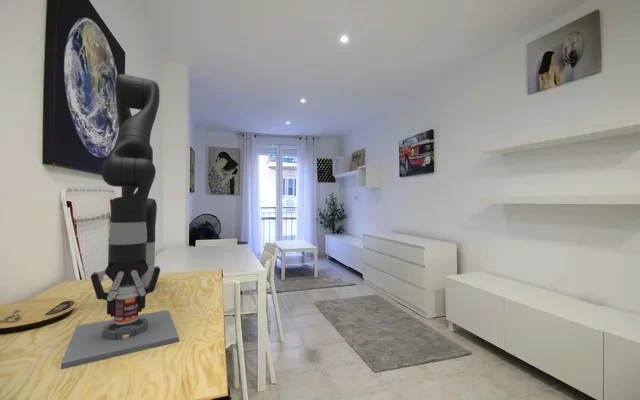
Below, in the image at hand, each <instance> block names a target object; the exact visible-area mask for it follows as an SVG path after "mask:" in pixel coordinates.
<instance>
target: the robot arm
mask: <svg viewBox="0 0 640 400" xmlns="http://www.w3.org/2000/svg"><path fill="white" fill-rule="evenodd" d="M114 94H115V102H116V113H117V120H118V134H117V141H116V144H115V146H114V147H113V149H112V150H111V152H110V153H109V155H107V157H106V159H105V160H104V162H103V164H102V167H101V177H102V179H103V181H104V182H105V183H106V184H107V185H108V186H111V187H119V188H121V196H119V197H115V198H113V199H112V200H111V203H110V225H109V230H108V239H107V241H108V253H107V254H108V256H107V257H108V258H107V266H106V268H105V269H103V270H100V271H94V272H92V273H91V276H90V280H91V283H92V287H93V290H94V293H95V295H96V298H97V300H104V301H106V314H107V315H109V316H110V317H111V318H112V317H113V318H114V307H115V296H116V294H117V289H118V287H119V286H121V285H125V284H136V287H137V291H136V292H138V293H139V303H138V313H141V312H142V311H143V310H144V309H145V307H146V297H147V295H148V294H150V293H153V292H155V288H156V286H157V282H158V278H159V276H160V272H161V268H160V266H159V265H155V263H156V262H155V261H156V257H155V256H156V223H157V222H156V221H157V211H158V210H157V209H158V205H157V201H156V199H154V198H149V195H150V191H151V188H152V186H153V183H154V181H155V178H156V172H157V171H156V166H155V165H154V162H153V161H154V159H153V157H154V152H153V148H152V145H151V134H152V130H153V126H154V123H155V121H156V118H157V113H158V110H159V105H160V98H161V97H160V96H161V95H160V86H159V85H158V83H157V82H156V81H155V80H152V79H149V78H145V77H139V76H135V75H129V74H124V73H120V74H117V75H116V77H115V81H114ZM131 109H133V110H139V111H138V112H137V113H135V114H134V115H133V114H132V111H131ZM105 276H107V277H108V279H110V280H111V281H112V284H111V286H110V289H109V291H108V292H106V291H105V290H104V287H103V284H102V281H103V280H104V278H105Z"/></svg>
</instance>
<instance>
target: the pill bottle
mask: <svg viewBox="0 0 640 400" xmlns="http://www.w3.org/2000/svg"><path fill="white" fill-rule="evenodd" d="M136 291H137V287H136V284H125V285H121V286H119V287H118V289H117V291H116V294H115V296H114V298H115V307H114V316H113V319H114V323H115V324H118V325H123V324H129V323H132V322H134V321H136V320H137V319H138V315H139V312H138V303H139V292H136Z"/></svg>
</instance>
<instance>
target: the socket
mask: <svg viewBox="0 0 640 400" xmlns="http://www.w3.org/2000/svg"><path fill="white" fill-rule="evenodd" d="M177 342H178V343H179V342H180V336H179V333H178V331H177V328H176V326H175V323H174V320H173V317H172V315H171V313H170V311H169V309H165V310H159V311H153V312H149V313H141V314H138V319H137V320H136V321H134V322H132V323H129V324H123V325H118V324H115V323H114V318H113V319H109V320H108V319H107V320H102V321H97V322H90V323H86V324H80V325H79V324H78V325H76V327H75V329H74V332H73V333H72V337H71V339H70V341H69V344H68V346H67V348H66V351H65V353H64V356H63V357H62V360H61V362H60V369H66V368H70V367H75V366H80V365H83V364H88V363H91V362H95V361H96V362H97V361H100V360H105V359H108V358H114V357H118V356H122V355H126V354H130V353H134V352H138V351H144V350H148V349H152V348H157V347H161V346H165V345H169V344H172V343H177Z"/></svg>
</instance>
